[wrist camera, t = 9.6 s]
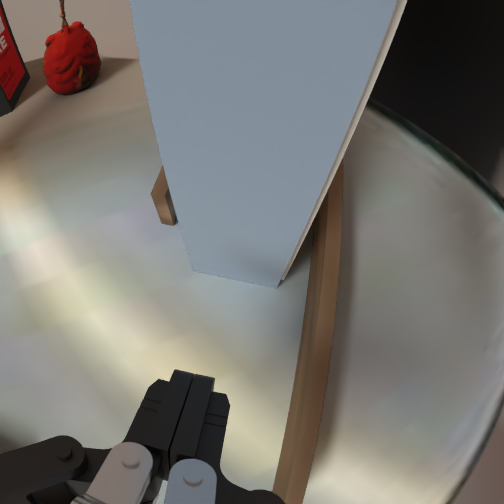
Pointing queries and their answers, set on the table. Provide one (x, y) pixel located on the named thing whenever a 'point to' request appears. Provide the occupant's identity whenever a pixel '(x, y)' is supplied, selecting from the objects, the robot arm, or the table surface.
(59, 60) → the red clay folk toy
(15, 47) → the cleaning product box
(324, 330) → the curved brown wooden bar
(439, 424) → the table surface
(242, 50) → the book
